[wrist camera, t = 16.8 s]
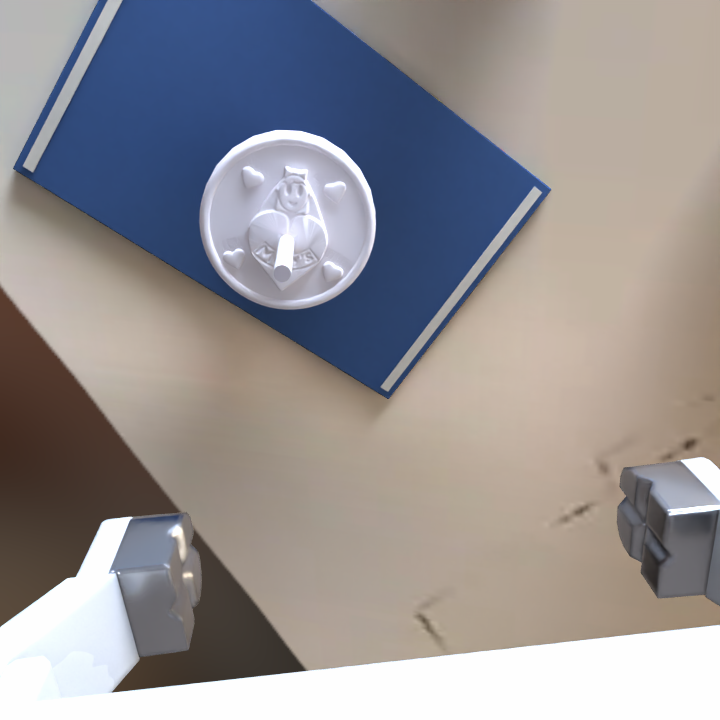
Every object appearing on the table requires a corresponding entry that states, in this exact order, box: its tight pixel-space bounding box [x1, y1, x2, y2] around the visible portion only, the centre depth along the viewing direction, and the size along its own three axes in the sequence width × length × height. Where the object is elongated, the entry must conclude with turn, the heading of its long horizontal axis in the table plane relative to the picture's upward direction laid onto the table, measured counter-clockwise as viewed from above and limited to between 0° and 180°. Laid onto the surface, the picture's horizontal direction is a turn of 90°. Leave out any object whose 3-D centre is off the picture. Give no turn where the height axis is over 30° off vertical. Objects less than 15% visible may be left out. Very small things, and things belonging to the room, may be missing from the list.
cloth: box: [13, 0, 551, 399], centre depth 33 cm, size 14×22×1 cm, turn 55°
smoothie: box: [199, 130, 376, 310], centre depth 26 cm, size 6×6×14 cm
